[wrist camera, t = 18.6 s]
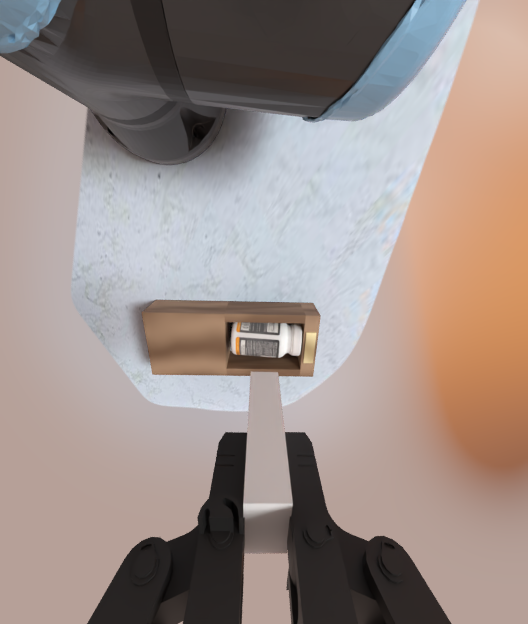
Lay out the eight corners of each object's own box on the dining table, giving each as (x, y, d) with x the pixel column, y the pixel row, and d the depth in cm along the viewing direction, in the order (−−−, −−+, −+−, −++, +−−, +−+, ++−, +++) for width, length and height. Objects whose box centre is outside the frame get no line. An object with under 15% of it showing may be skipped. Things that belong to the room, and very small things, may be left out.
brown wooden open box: (156, 299, 37) (140, 312, 33) (313, 303, 38) (320, 316, 33) (164, 356, 41) (152, 375, 36) (307, 358, 42) (313, 377, 37)
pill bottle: (234, 350, 40) (296, 355, 39) (228, 357, 34) (300, 363, 33) (237, 315, 39) (299, 320, 39) (231, 316, 34) (303, 322, 33)
